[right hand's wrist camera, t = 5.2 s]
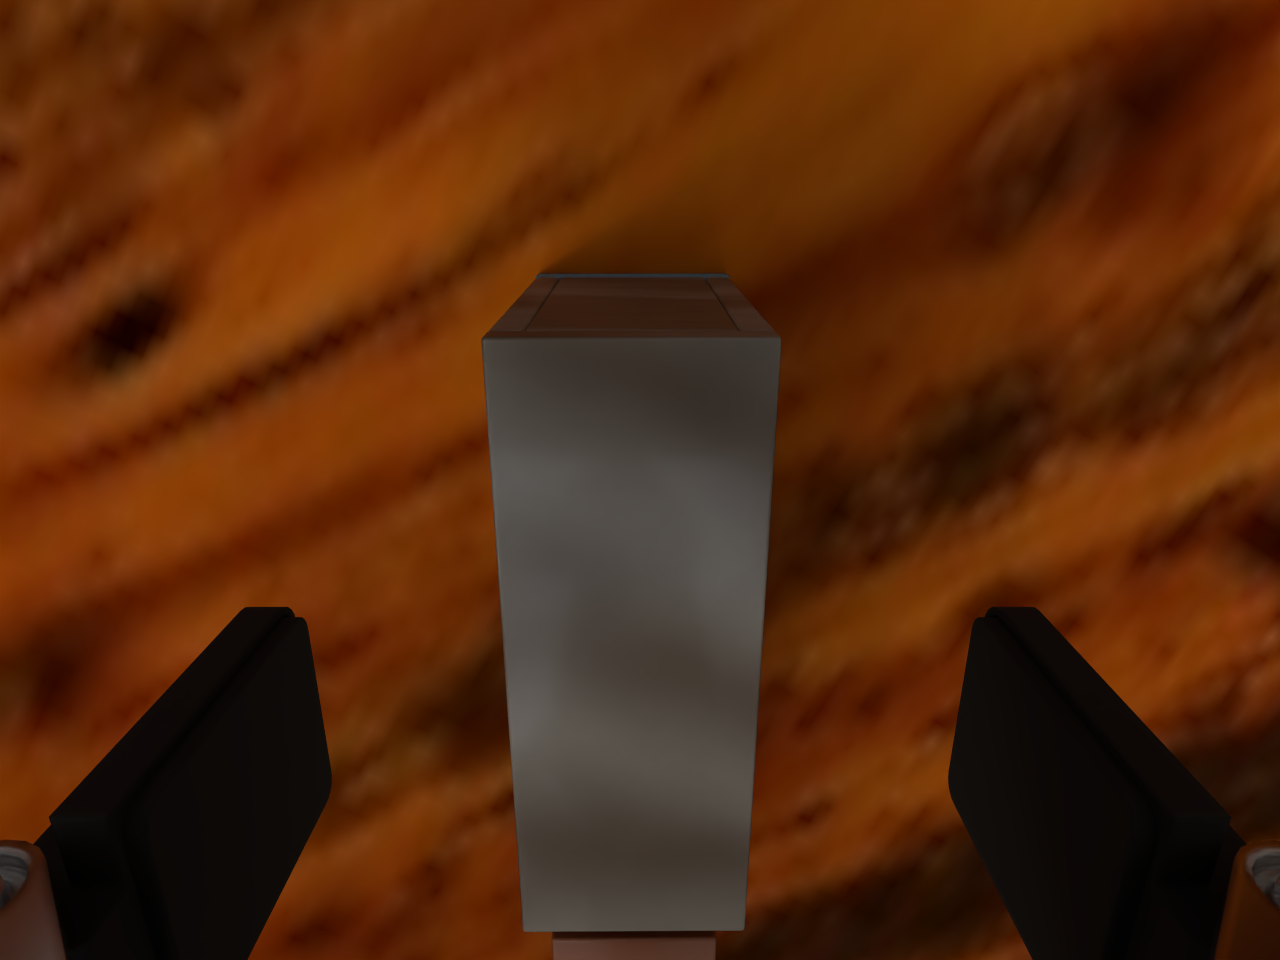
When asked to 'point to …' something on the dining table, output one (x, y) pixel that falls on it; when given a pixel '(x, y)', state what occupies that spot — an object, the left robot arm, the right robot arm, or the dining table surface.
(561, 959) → the drawer
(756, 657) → the cabinet
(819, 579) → the dining table surface
